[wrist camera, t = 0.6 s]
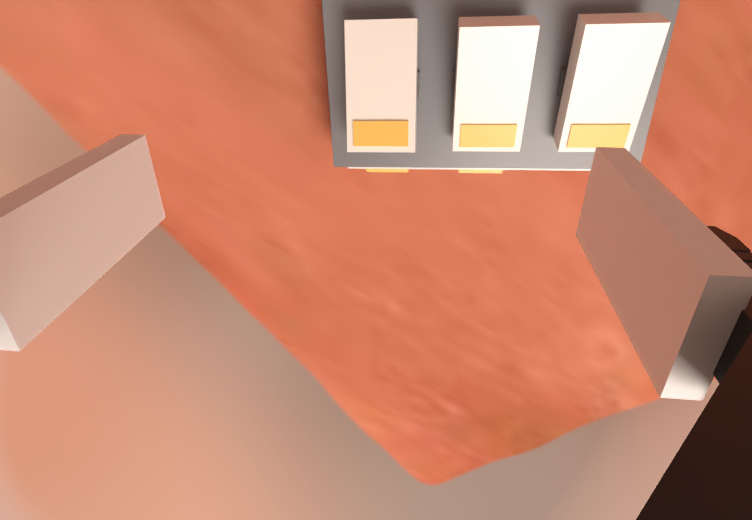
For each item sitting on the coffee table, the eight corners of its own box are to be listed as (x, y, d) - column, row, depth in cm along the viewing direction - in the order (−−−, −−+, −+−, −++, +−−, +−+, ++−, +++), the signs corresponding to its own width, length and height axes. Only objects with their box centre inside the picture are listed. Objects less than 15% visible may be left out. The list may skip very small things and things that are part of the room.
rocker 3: (578, 14, 29) (586, 25, 28) (658, 12, 29) (671, 23, 27) (553, 137, 34) (558, 152, 33) (620, 137, 34) (629, 153, 32)
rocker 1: (349, 24, 32) (343, 19, 30) (418, 23, 32) (417, 17, 30) (351, 149, 35) (346, 152, 33) (415, 149, 34) (414, 152, 32)
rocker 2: (458, 16, 30) (459, 28, 28) (535, 15, 29) (540, 26, 28) (452, 137, 35) (452, 152, 34) (516, 137, 35) (520, 152, 33)
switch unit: (334, -16, 36) (318, -15, 31) (654, -26, 33) (691, -26, 29) (345, 153, 42) (333, 176, 37) (615, 155, 40) (640, 179, 35)
